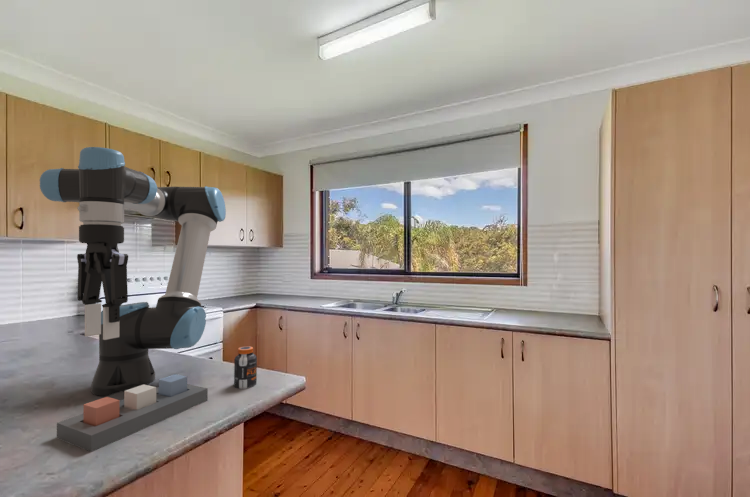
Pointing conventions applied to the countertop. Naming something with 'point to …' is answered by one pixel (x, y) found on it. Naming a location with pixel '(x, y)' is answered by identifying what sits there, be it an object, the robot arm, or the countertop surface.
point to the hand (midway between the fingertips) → (101, 336)
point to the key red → (100, 411)
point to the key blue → (172, 385)
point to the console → (128, 419)
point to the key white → (139, 397)
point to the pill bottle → (245, 368)
